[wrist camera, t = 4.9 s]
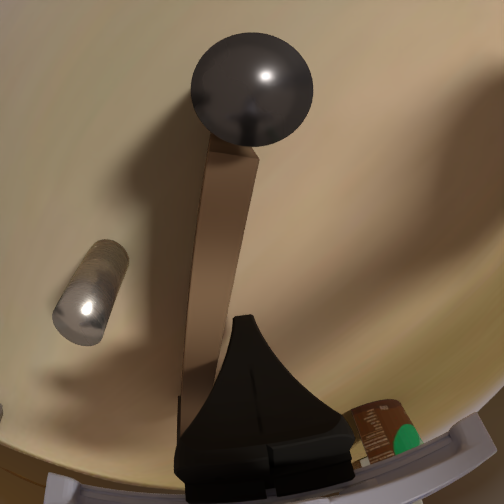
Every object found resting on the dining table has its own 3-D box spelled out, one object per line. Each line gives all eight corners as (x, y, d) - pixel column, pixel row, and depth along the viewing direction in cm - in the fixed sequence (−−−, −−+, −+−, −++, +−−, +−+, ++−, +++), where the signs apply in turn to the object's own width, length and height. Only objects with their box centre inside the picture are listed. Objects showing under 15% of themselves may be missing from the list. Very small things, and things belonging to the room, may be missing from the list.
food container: (409, 419, 27) (438, 486, 19) (361, 441, 28) (385, 510, 19) (413, 372, 21) (460, 466, 13) (348, 403, 22) (384, 505, 13)
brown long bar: (205, 130, 10) (199, 154, 6) (249, 137, 10) (271, 165, 6) (177, 407, 18) (176, 464, 14) (200, 409, 19) (202, 465, 15)
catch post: (93, 233, 12) (52, 296, 8) (133, 247, 13) (106, 316, 9) (87, 268, 13) (52, 334, 9) (124, 282, 13) (100, 352, 9)
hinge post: (219, 52, 9) (223, 14, 4) (278, 77, 10) (332, 67, 5) (192, 108, 10) (171, 120, 5) (250, 131, 11) (281, 165, 6)
